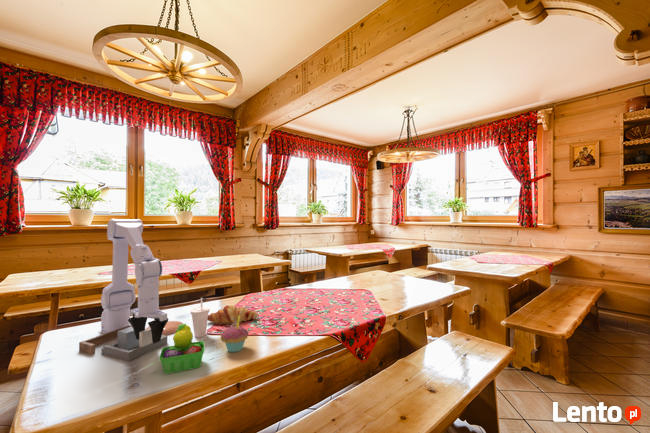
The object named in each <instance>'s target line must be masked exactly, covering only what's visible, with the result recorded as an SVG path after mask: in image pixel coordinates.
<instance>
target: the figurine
mask: <svg viewBox="0 0 650 433" xmlns="http://www.w3.org/2000/svg"><path fill="white" fill-rule="evenodd" d="M237 321H238V319H237V318H236V320H235V321H234V322H235V324H234V323H233V324H231V325H230V327H237Z"/></svg>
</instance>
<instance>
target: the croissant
mask: <svg viewBox="0 0 650 433" xmlns="http://www.w3.org/2000/svg"><path fill="white" fill-rule="evenodd" d="M239 314H240V323H242V321H245V322H247V320H248V321H250V320H251V319H253V320H255V319H257V318H258V316H259V314H258V312H255V311H253V310H252V309H251V310H249V309H247V308H246V307H244V306H242V307H237V306H235V305H232V304H229V305H225V306H224V308H223V309H222V308H221V309H219V310H217V312H212V313H209V314H208V320H207V322H211V323H213V324H216V325H233V323H235V322H234V321H235V320H236V318H237V319H238V315H239Z"/></svg>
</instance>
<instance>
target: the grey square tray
mask: <svg viewBox="0 0 650 433" xmlns="http://www.w3.org/2000/svg"><path fill="white" fill-rule="evenodd" d="M167 344H168V335H162V336H161V340H160V341H159V342H157V343H153V341H152V333H151V329H150V328H149V329H147V330H144V331H141V332H139V346H137V347H134V348H132V349H129V350H125V349H121V348H118V342H116V343H113V344H111V345H109V344H106V345H104V346H103V348H101V355H105V356H108V357H112V358H116V359H119V360H123V361H128V362H130V361H133V360H134V359H137V358H139V357H142V356H144V355H146V354H148V353H150V352H152V351H154V350H156V349H158V348H160V347H163V346H165V345H167Z"/></svg>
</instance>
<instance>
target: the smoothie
mask: <svg viewBox="0 0 650 433" xmlns="http://www.w3.org/2000/svg"><path fill="white" fill-rule="evenodd" d="M209 312H210V308H209V307H208V306H203V297H200V306H198V307H194V308H192V309H191V310H190V315H191V319H192V326H193V334H194V335H193V336H194V337H195V338H202V337H204V336H206V335H207V334H206V333H207V326H208V315H209Z"/></svg>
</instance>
